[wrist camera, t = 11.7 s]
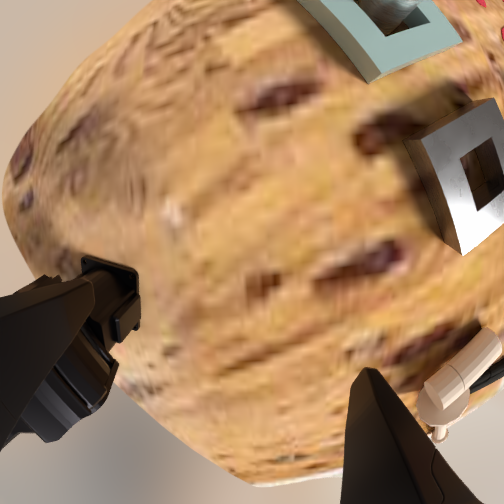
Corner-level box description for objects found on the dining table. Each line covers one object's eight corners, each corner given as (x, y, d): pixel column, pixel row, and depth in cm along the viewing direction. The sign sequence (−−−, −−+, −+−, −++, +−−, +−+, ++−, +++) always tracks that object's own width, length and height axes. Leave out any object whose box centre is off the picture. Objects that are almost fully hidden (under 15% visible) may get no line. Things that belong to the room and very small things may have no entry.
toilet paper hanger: (401, 379, 22) (434, 423, 16) (473, 315, 21) (512, 346, 15) (413, 434, 29) (431, 462, 23) (464, 393, 29) (485, 417, 22)
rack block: (368, 84, 15) (381, 73, 12) (293, -3, 13) (294, -23, 10) (444, 51, 12) (462, 41, 9) (377, -28, 10) (386, -45, 7)
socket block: (444, 242, 18) (462, 255, 15) (402, 140, 16) (420, 139, 13) (506, 194, 15) (526, 201, 13) (473, 100, 13) (494, 97, 11)
